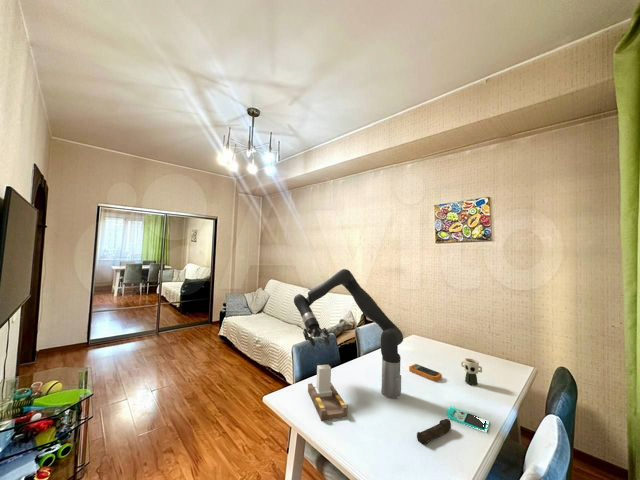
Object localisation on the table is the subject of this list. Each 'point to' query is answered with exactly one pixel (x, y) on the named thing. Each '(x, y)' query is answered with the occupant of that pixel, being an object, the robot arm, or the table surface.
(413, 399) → the table surface
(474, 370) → the character mug
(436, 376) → the multimeter
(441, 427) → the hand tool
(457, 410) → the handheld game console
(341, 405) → the switch housing
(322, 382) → the switch tab
